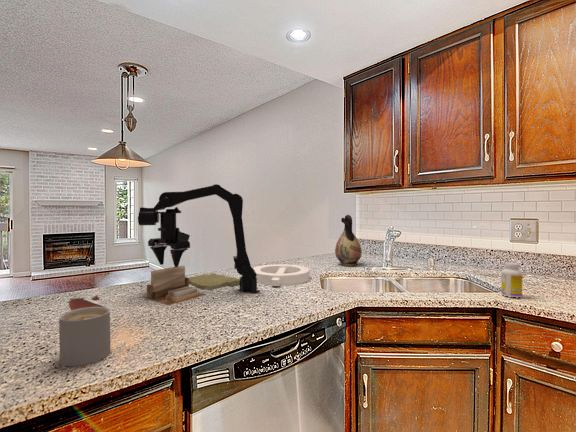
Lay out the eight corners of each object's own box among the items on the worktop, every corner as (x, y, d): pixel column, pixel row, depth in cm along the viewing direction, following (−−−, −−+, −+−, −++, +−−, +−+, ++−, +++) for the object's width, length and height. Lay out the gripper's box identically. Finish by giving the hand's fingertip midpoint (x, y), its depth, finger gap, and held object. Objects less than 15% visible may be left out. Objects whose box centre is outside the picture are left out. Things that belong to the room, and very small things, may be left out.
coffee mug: (105, 362, 72) (104, 318, 72) (52, 369, 69) (51, 322, 69) (117, 339, 85) (116, 301, 85) (73, 344, 82) (72, 304, 82)
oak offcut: (199, 296, 122) (199, 292, 122) (176, 302, 114) (176, 298, 114) (188, 293, 126) (188, 289, 126) (166, 299, 117) (166, 295, 117)
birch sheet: (185, 290, 130) (184, 265, 130) (153, 298, 119) (152, 271, 118) (183, 290, 131) (183, 265, 130) (151, 298, 119) (150, 271, 119)
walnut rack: (207, 296, 125) (207, 281, 125) (168, 308, 111) (168, 290, 111) (181, 290, 134) (180, 276, 134) (142, 300, 120) (142, 284, 120)
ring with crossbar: (274, 289, 137) (274, 278, 137) (240, 278, 159) (240, 268, 159) (321, 280, 155) (321, 270, 154) (285, 271, 176) (285, 262, 176)
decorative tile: (213, 279, 157) (213, 272, 157) (242, 285, 145) (242, 277, 145) (179, 286, 142) (179, 278, 142) (208, 294, 130) (208, 285, 130)
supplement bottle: (525, 297, 125) (526, 263, 124) (516, 299, 121) (517, 265, 121) (506, 293, 130) (507, 261, 130) (497, 295, 127) (498, 262, 127)
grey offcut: (197, 292, 122) (197, 288, 122) (177, 297, 115) (177, 293, 115) (188, 290, 125) (188, 286, 125) (168, 295, 118) (168, 291, 118)
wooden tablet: (68, 302, 119) (68, 298, 119) (99, 298, 125) (99, 293, 125) (73, 323, 98) (73, 318, 98) (111, 316, 104) (110, 311, 104)
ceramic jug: (332, 262, 200) (332, 214, 199) (356, 262, 201) (356, 214, 201) (339, 268, 183) (339, 215, 182) (366, 267, 185) (366, 214, 184)
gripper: (201, 225, 125) (201, 265, 126) (171, 223, 136) (172, 260, 136) (176, 226, 116) (177, 269, 117) (147, 224, 127) (147, 264, 127)
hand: (168, 265), depth 124 cm, fingers open, 9 cm apart
